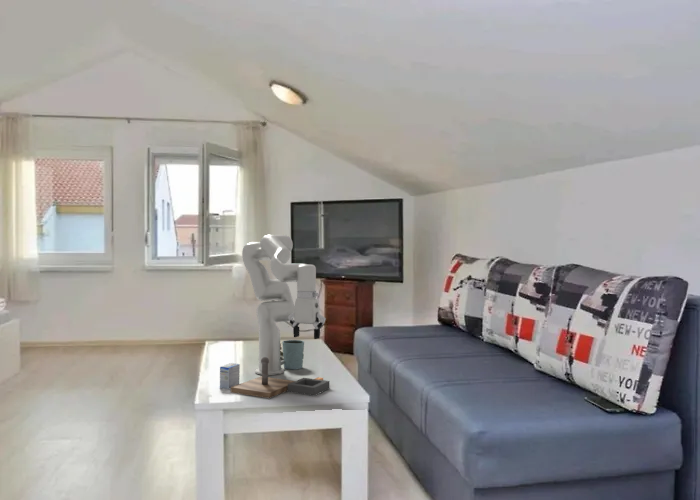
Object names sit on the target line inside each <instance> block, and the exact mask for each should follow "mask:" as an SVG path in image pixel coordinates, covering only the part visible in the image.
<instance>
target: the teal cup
mask: <svg viewBox="0 0 700 500" xmlns="http://www.w3.org/2000/svg"><path fill="white" fill-rule="evenodd" d="M281 346H282V354H283V355H282V357H283V360H284V361H285V364H283V369H287V370H301V369H302V368H303V363H304V360H303V359H304V352H305V351H304V349H305V341H304V340H300V339H299V340H298V339H287V340H283V341H282V342H281Z"/></svg>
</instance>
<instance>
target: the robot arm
mask: <svg viewBox="0 0 700 500" xmlns="http://www.w3.org/2000/svg"><path fill="white" fill-rule="evenodd" d="M293 245H294V243H293V240H292V238H291V237H290V236H289V235H287V234H267V235H264V236H262V237H261V239H260V241H251V242H248V243H246V244H245V245H244V246H242V247H243V248H242V251H241V252H242V253H241V254H242V257H241V258H242V263H243V266H244V267H245V269H246V270H247V272H248V275H249V278H250V282H251V286H252V289H253V292H254V295H255V298H256V299H257V300H258V301H260V302H261V303H259V304H258V305H257V307H256V318H257V324H258V368H256V369H255V370H254V373H255V374H256V375H260V376H262V363H261V359H262V358H263V357H267V358H268V359H269V363H268V376H275V375H281V374H283V373H284V372H285V371H284V369H285V368H284V367H283V368H282V365H283V366H284V364H285V361H284V359H283V360H281V352H280V351H281V350H280V344H281V330H280V329H279V327H278V325H277V324H276V323H284V322H289V323H290V324H291V327H292V329H293V331H292V333H293V334H292V335H293V338H299V337H300V324H303V325H304V324H305V325H312V326H313V327H314V329H313V339H314V340H318V339H320V337H321V329H322V327H323V326H324V325H325V322H326V319H327V318H326V317H324V316H323V315H322V314H321V310H320V303H319V299H318V298H317V297H318V296H319V292H317V285H316V284H317V280H316V279H317V267H316V266H315V265H314V264H307V263H300V262H299V263H288V262H289V260H290V258H291V251H292V250H293V247H294V246H293ZM261 261H270V263H269V266H270V267H269V268H270V271H271V273H272V275H273V276H274V277H275V279H272V278H271V277H270V274H269V273H270V272H269V270H268V269H267V267H266V266H265V265H264V264H263V263H261ZM293 282H295V283H296V296H297V297H296V298H295V301H294V299H293V296H292V293H291V290H290V286H289V284H288V283H293Z"/></svg>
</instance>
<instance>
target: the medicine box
mask: <svg viewBox="0 0 700 500" xmlns="http://www.w3.org/2000/svg"><path fill="white" fill-rule="evenodd" d="M240 367H241V364H239V363H237V362H236V363H234V362H230V363H227V364H224V365H222V366H220V367H219V388H220V389H225V390H231V387H233V386H235V385H238V384H240Z"/></svg>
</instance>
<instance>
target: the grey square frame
mask: <svg viewBox="0 0 700 500" xmlns="http://www.w3.org/2000/svg"><path fill="white" fill-rule="evenodd" d="M293 381H294V382H292V383H289V384H288V391H287V393H293V394H301V395H308V396H317V395H319V394H321V393H323V392H325V391H327V390H329V389H330V380H324V377H320V376H318V377H316V378H308V377H302V378H299V379H296V380H293ZM328 388H329V389H328ZM326 389H327V390H326ZM324 390H325V391H324ZM322 391H323V392H322ZM320 392H321V393H320ZM318 393H319V394H318ZM316 394H317V395H316Z"/></svg>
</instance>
